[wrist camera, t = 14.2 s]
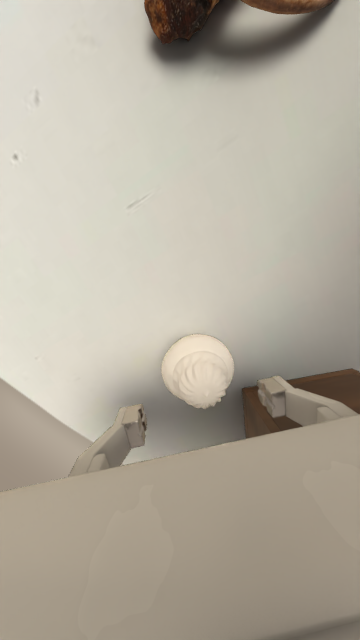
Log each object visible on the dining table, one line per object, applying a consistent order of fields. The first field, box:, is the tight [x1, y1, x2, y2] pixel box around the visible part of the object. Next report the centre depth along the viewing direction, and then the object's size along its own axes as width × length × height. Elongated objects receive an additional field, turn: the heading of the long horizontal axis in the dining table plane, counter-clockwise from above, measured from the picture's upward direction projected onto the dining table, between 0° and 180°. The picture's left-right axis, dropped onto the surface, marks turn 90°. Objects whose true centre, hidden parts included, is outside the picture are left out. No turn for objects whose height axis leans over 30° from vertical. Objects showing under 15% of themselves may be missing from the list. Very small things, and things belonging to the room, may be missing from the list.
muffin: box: [161, 334, 234, 409], centre depth 14 cm, size 6×6×7 cm
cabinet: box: [242, 369, 360, 439], centre depth 17 cm, size 15×13×10 cm
